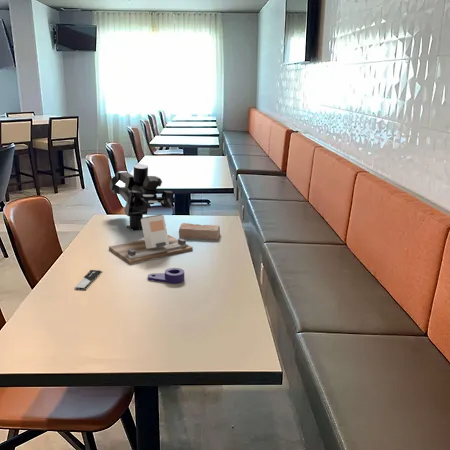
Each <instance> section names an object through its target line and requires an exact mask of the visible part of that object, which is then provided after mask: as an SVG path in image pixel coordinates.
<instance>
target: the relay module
mask: <svg viewBox="0 0 450 450" xmlns="http://www.w3.org/2000/svg"><path fill="white" fill-rule="evenodd" d="M165 220H166V219H165V216H164V215H163V214H162V213H161V214H155V215H154V214H153V215H149V216H144V217H143V218H142V219H141V223H142V229H141V230H142V232H143V233H142V234H143V240H145V244H146V249H148V248H155V247H160V246H164V245H169V241H168V236H167V235H168V232H167V231H168V230H167V227H166V221H165Z"/></svg>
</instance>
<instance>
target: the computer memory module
mask: <svg viewBox="0 0 450 450" xmlns="http://www.w3.org/2000/svg"><path fill="white" fill-rule="evenodd" d="M102 273H103V271H102V270H100V269H99V270H98V269H97V270H96V269H90V270H89V271H88V272H87V273H86V274H85V275H84V276H83V278H82V279H81V280H80V281H79V282H78V283H77V284H76V285H75V286H74V290H76V291H87V290H88V288H90V286H92V284H93V283H94V282H95V281H96V280H97V279H98V278H99V276H101V274H102Z"/></svg>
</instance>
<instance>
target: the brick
mask: <svg viewBox="0 0 450 450" xmlns="http://www.w3.org/2000/svg"><path fill="white" fill-rule="evenodd" d="M220 236H221V226H220V225H219V224H216V225H215V224H198V223H194V224H193V223H190V222H189V223H187V222H186V223H185V222H182V223H181V224H180V226H179V229H178V237H179V239H181V238H182V239H185V240H186V239H189V240H190V239H192V240H219V239H220Z"/></svg>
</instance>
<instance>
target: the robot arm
mask: <svg viewBox="0 0 450 450" xmlns="http://www.w3.org/2000/svg"><path fill="white" fill-rule="evenodd" d="M162 184H163V180H162V179H161V177H159V176H155V175H149V165H147V164H142V163H135V164H134V165H133V174H131V173H130V172H129V171H126V170H122V171H117V172H115V175H114V176H112V177H111V179H110V181H109V189H110V191H111V192H112V193H113V194H118V195H120V196H121V198H122V199H123V200H124V201H125V202H126V204H125V206H124V215H126V216H127V217H129V218H128V219H129V225H126V228H128V229H130V230H132V231H138V230H143V229H142V223H141V219H142V218H143V216H144V215H148V212H149V211H148V210H149V209H151V207H152V205H155V204H160V205H161V207H163V208H167V209H172V207H173V201H174V195H175V193H174V192H173V191H172V190H163V191H162V192H161V196H158V195H157V194H158V189H157V188H159V187H161V186H162Z"/></svg>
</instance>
